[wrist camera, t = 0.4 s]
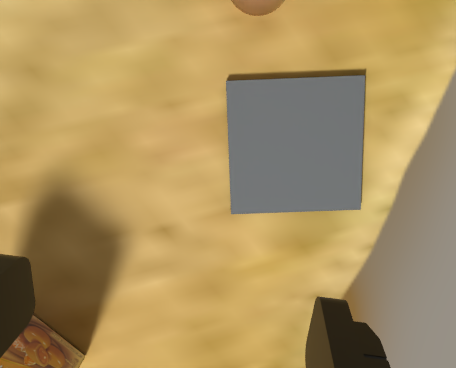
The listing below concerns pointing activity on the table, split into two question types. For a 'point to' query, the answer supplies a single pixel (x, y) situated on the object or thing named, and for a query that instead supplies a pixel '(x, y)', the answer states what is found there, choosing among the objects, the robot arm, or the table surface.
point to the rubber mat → (295, 144)
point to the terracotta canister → (257, 6)
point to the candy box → (40, 349)
